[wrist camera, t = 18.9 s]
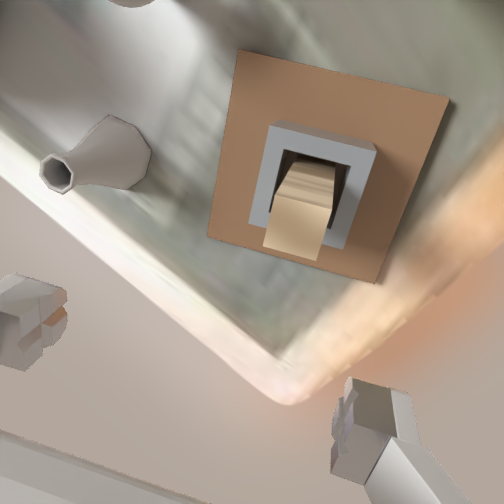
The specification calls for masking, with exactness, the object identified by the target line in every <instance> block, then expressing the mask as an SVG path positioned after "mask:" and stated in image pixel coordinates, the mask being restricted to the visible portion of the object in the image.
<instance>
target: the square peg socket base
mask: <svg viewBox="0 0 504 504" xmlns="http://www.w3.org/2000/svg"><path fill="white" fill-rule="evenodd" d="M449 99H450V98H448V97H444V96H440V95H435V94H431V93H427V92H422V91H418V90H414V89H409V88H405V87H401V86H396V85H392V84H388V83H383V82H379V81H375V80H370V79H366V78H362V77H357V76H353V75H349V74H344V73H340V72H336V71H331V70H327V69H323V68H318V67H314V66H310V65H305V64H301V63H296V62H292V61H288V60H283V59H279V58H275V57H270V56H266V55H262V54H257V53H253V52H249V51H244V50H240V49H238V55H237V61H236V67H235V73H234V78H233V84H232V90H231V96H230V102H229V108H228V114H227V120H226V126H225V131H224V137H223V143H222V149H221V155H220V161H219V167H218V173H217V179H216V185H215V190H214V196H213V202H212V208H211V214H210V220H209V226H208V232H207V237H210V238H214V239H217V240H221V241H224V242H228V243H232V244H235V245H239V246H242V247H246V248H249V249H253V250H256V251H260V252H263V253H267V254H270V255H274V256H277V257H281V258H284V259H288V260H291V261H295V262H299V263H302V264H306V265H309V266H313V267H316V268H320V269H323V270H327V271H330V272H334V273H337V274H341V275H344V276H348V277H351V278H355V279H358V280H362V281H366V282H369V283H373V284H375V281H376V279H377V276H378V274H379V271H380V269H381V266H382V264H383V261H384V259H385V257H386V254H387V252H388V249H389V247H390V244H391V242H392V239H393V237H394V234H395V232H396V230H397V227H398V225H399V222H400V220H401V217H402V215H403V212H404V210H405V207H406V205H407V202H408V200H409V198H410V195H411V193H412V190H413V188H414V185H415V183H416V180H417V178H418V175H419V173H420V170H421V168H422V166H423V163H424V161H425V158H426V156H427V153H428V151H429V148H430V146H431V143H432V141H433V139H434V136H435V134H436V131H437V129H438V126H439V124H440V121H441V119H442V116H443V114H444V111H445V109H446V107H447V104H448V102H449ZM298 154H301V155H305V156H309V157H313V158H317V159H321V160H325V161H329V162H333V163H336V165H335V178H334V191H333V204H332V212H331V215H330V218H329V221H328V224H327V227H326V231H325V234H324V237H323V240H322V243H321V247H320V250H319V253H318V256H317V259H316V261H314V260H311V259H307V258H303V257H300V256H296V255H293V254H289V253H286V252H282V251H278V250H275V249H271V248H268V247H264V246H263V243H264V238H265V234H266V230H267V226H268V222H269V218H270V213H271V209H272V205H273V201H274V197H275V194H276V192H277V190H278V189H279V187H280V185H281V183H282V182H283V180H284V178H285V176H286V175H287V173H288V171H289V169H290V168H291V166H292V164H293V163H294V161H295V159H296V157H297V156H298Z"/></svg>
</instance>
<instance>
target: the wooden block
mask: <svg viewBox="0 0 504 504" xmlns="http://www.w3.org/2000/svg"><path fill="white" fill-rule="evenodd" d="M335 165H336V163H333V162H329V161H325V160H321V159H317V158H313V157H309V156H305V155H301V154H298V156H297V157H296V159H295V161H294V163H293V164H292V166H291V168H290V169H289V171H288V173H287V175H286V176H285V178H284V180H283V182H282V183H281V185H280V187H279V189H278V190H277V192H276V194H275V197H274V201H273V205H272V209H271V213H270V218H269V222H268V226H267V230H266V234H265V238H264V243H263V246H264V247H268V248H271V249H275V250H278V251H282V252H286V253H289V254H293V255H296V256H300V257H303V258H307V259H311V260H314V261H316V259H317V256H318V253H319V250H320V247H321V243H322V240H323V237H324V234H325V231H326V227H327V224H328V221H329V218H330V215H331V212H332V204H333V191H334V178H335Z"/></svg>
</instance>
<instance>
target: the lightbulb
mask: <svg viewBox="0 0 504 504" xmlns="http://www.w3.org/2000/svg"><path fill="white" fill-rule="evenodd" d="M109 1H111V2H113V3H115V4H118V5H120V6H124V7H130V8H132V7H141V6H144V5H147V4H150V3H151V2H153V1H154V0H109Z"/></svg>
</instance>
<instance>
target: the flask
mask: <svg viewBox="0 0 504 504" xmlns="http://www.w3.org/2000/svg"><path fill="white" fill-rule="evenodd" d="M151 152H152V151H151V150H150V148H149V147H148V145H147V144H146V142H145V141H144V139H143V138H142V136H141V135H140V133H139V132H138V130H137V129H136V127H135V126H133V125H131V124H129V123H126V122H124V121H122V120H119V119H117V118H115V117H113V116H110V115H108V116H107V117H106V118H105V119H103V120H102V121H101V122H100V123H98V124H97V125H96V126H95V127H93V128H92V129H91V130H90V131H89V132H88V133H87V134H86V135H85V136H84V138H83V139H82V140H81V141H80V143H79V144H78V145H77V146H76V147H75V148H74V149H73V150H71V151H70V152H68V153H65V154H62V155H58V154H56V153H50V154H49V155H48V156H47V157H46V158H44V159H43V160H42V161H41V164H40V172H39V176H40V177H41V179H42V180H43V181H44V183H45V184H46V185H47V187H48V188H49V189H51V190H53V191H56V192H58V193H60V194H62V195H63V194H65V193H66V192H68V191H69V190H71V189H72V188H73V187H75V186H76V185H84V184H94V185H101V186H108V187H112V188H117V189H123V190H127V189H128V188H130V187H131V186H133V185H134V184H136V183H137V182H139V181H140V180H142V179H143V178H145V176H146V172H147V168H148V164H149V160H150V156H151Z"/></svg>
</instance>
